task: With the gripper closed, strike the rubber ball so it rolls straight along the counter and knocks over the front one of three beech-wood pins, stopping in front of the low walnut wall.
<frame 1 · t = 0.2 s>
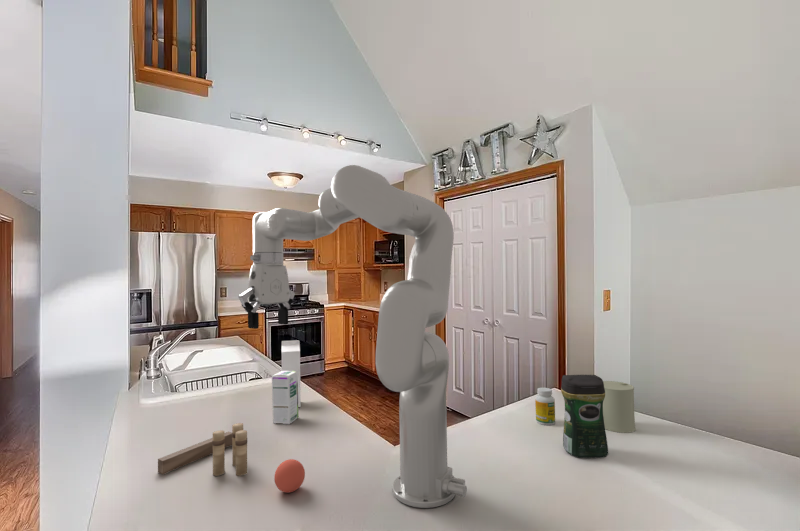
hand: (268, 326, 103), 31 cm above the countertop, tool pointing down, fingers open, 9 cm apart
syrup box: (285, 421, 121), on the countertop
can: (616, 427, 112), on the countertop
front pin: (241, 473, 88), on the countertop
right back pin: (238, 463, 93), on the countertop
left back pin: (218, 473, 89), on the countertop
supplement bottle: (545, 423, 116), on the countertop
milk: (291, 406, 135), on the countertop
coffee jar: (584, 453, 96), on the countertop
ball: (289, 475, 81), on the countertop
back wall: (198, 457, 97), on the countertop
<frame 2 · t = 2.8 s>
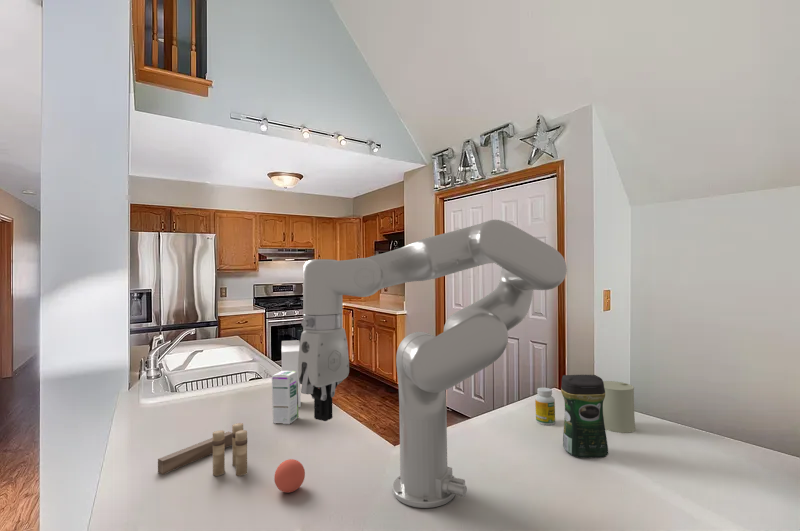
hand: (323, 418, 76), 16 cm above the countertop, tool pointing down, fingers closed
nothing on the countertop moved.
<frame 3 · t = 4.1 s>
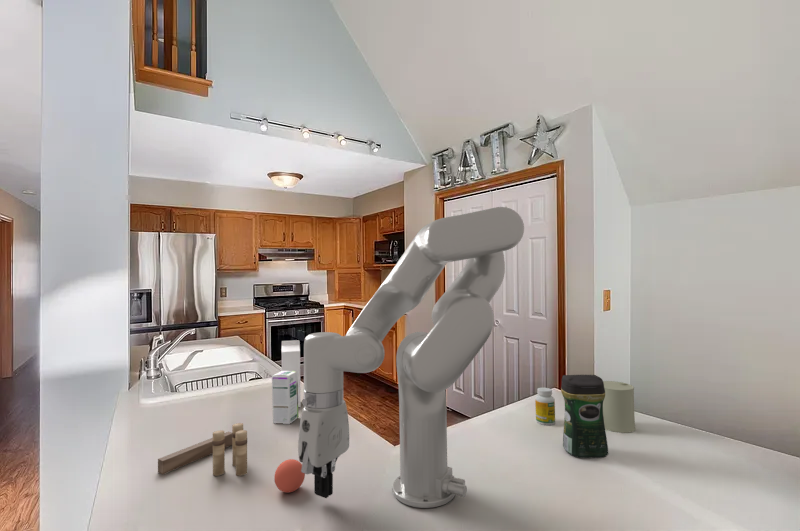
hand: (323, 494, 76), 2 cm above the countertop, tool pointing down, fingers closed
nothing on the countertop moved.
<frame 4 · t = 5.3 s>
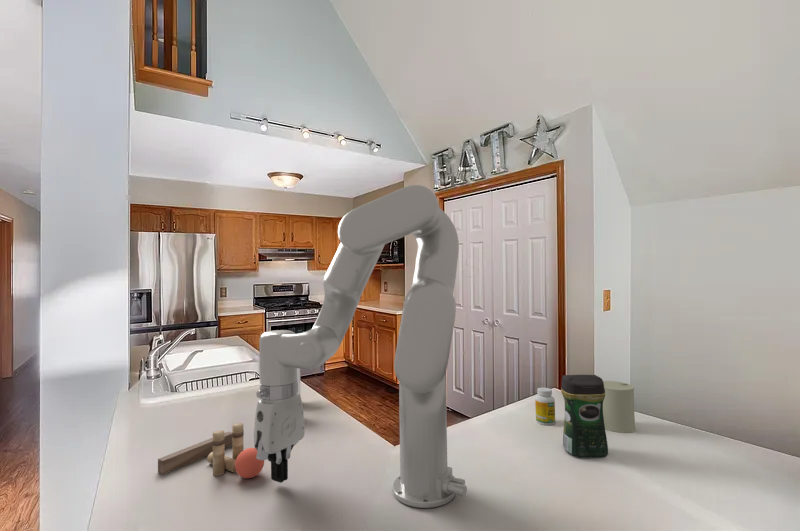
hand: (279, 479, 82), 2 cm above the countertop, tool pointing down, fingers closed
front pin: (236, 466, 89), point 1 cm above the countertop, tilted 88°
ball: (249, 462, 87), on the countertop
everything else where it was.
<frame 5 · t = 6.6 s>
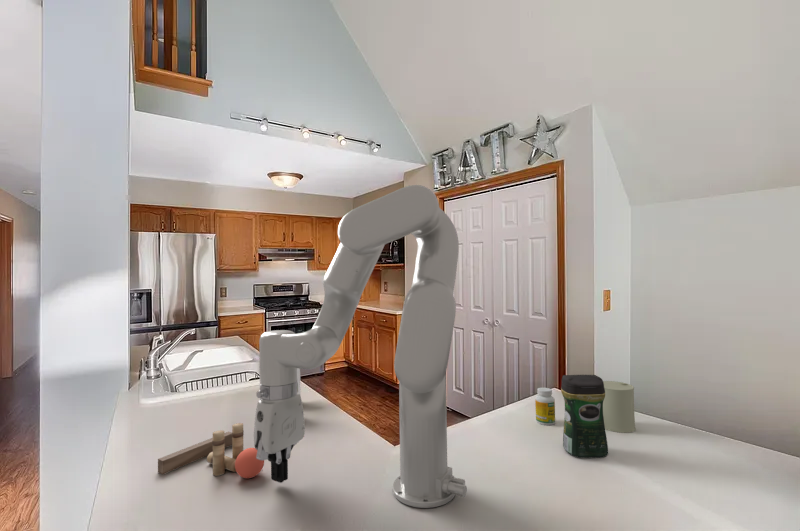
hand: (279, 479, 82), 2 cm above the countertop, tool pointing down, fingers closed
nothing on the countertop moved.
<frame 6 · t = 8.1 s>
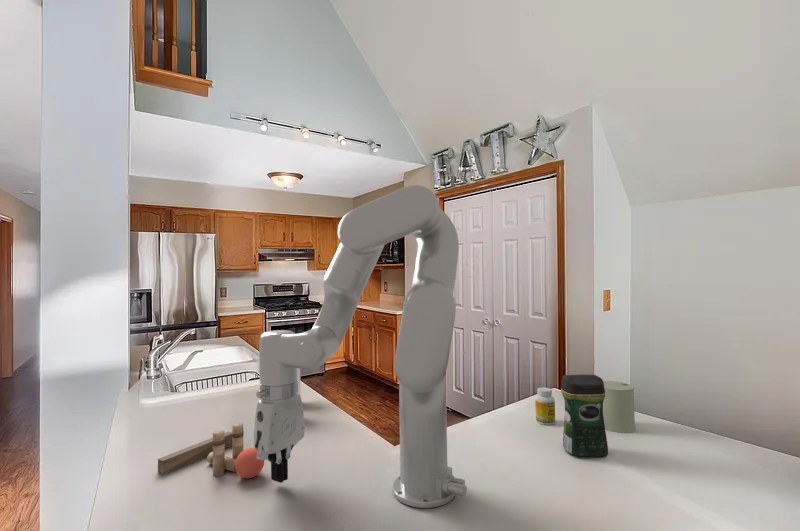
hand: (279, 479, 82), 2 cm above the countertop, tool pointing down, fingers closed
nothing on the countertop moved.
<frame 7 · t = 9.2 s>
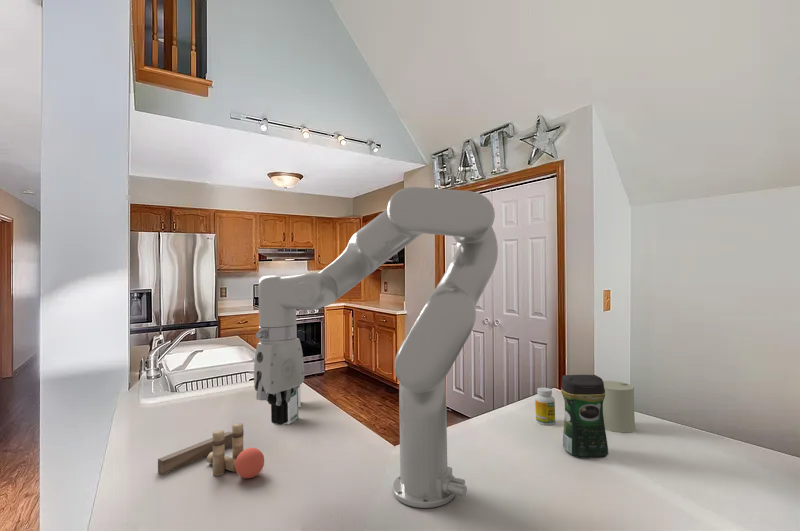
hand: (279, 422, 83), 13 cm above the countertop, tool pointing down, fingers closed
nothing on the countertop moved.
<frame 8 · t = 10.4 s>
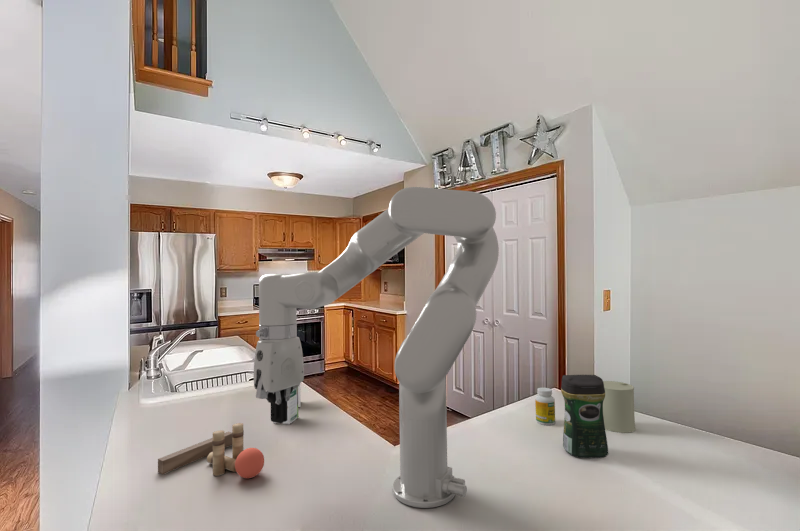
hand: (279, 421, 83), 14 cm above the countertop, tool pointing down, fingers closed
nothing on the countertop moved.
at the end: front pin tilted 90°; front pin never touched the robot; ball moved 12.0 cm from its start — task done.
